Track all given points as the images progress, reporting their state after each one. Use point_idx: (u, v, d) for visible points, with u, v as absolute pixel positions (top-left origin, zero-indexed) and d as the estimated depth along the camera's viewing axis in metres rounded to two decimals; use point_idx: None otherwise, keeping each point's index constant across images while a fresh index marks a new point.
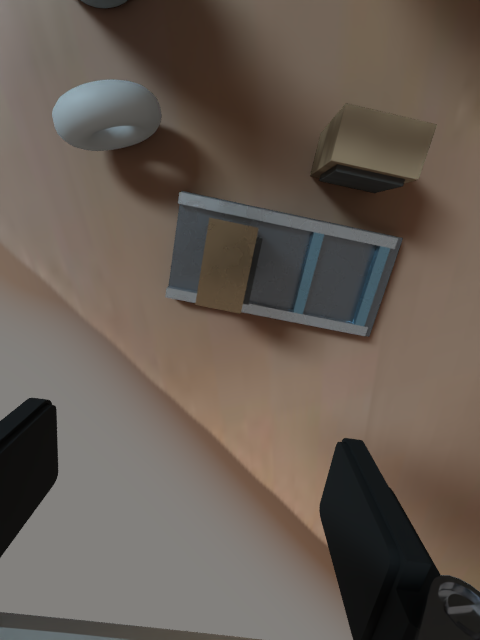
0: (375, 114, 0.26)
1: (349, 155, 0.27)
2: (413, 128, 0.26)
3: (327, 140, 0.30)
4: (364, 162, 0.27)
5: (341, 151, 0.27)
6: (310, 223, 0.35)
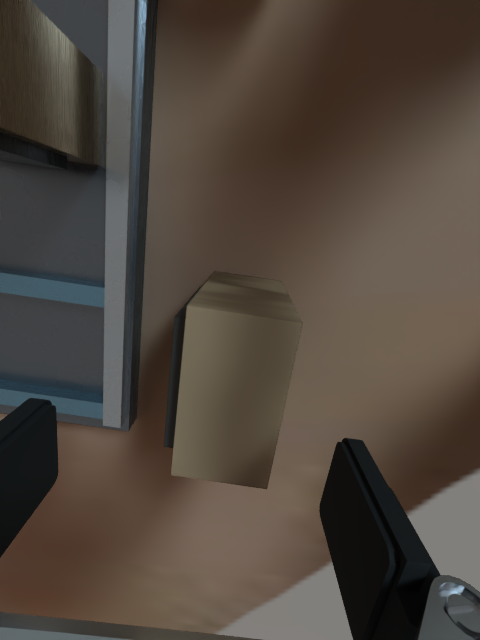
0: (281, 384, 0.13)
1: (200, 343, 0.12)
2: (258, 453, 0.14)
3: (252, 293, 0.15)
4: (190, 376, 0.13)
5: (207, 325, 0.12)
6: (118, 279, 0.18)
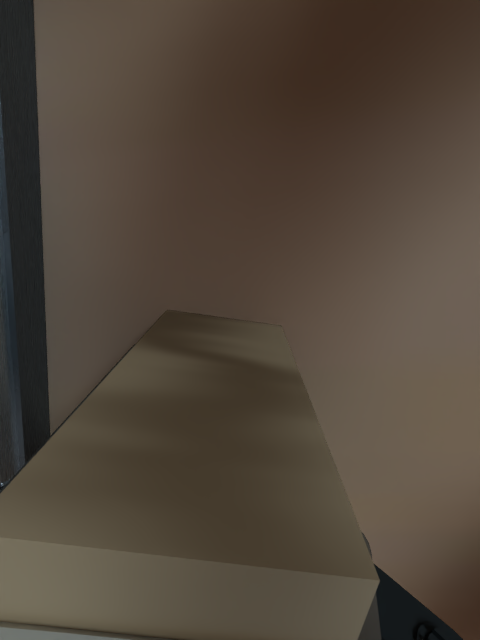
0: None
1: None
2: None
3: (225, 382, 0.07)
4: None
5: (49, 587, 0.03)
6: None
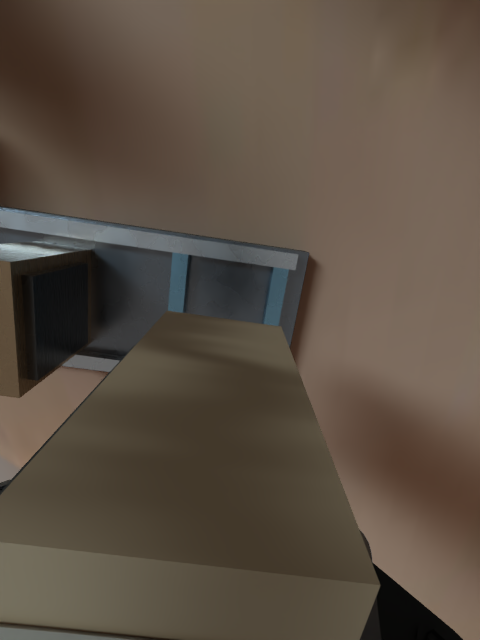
0: None
1: None
2: None
3: (224, 383, 0.07)
4: None
5: (47, 592, 0.03)
6: (164, 240, 0.23)
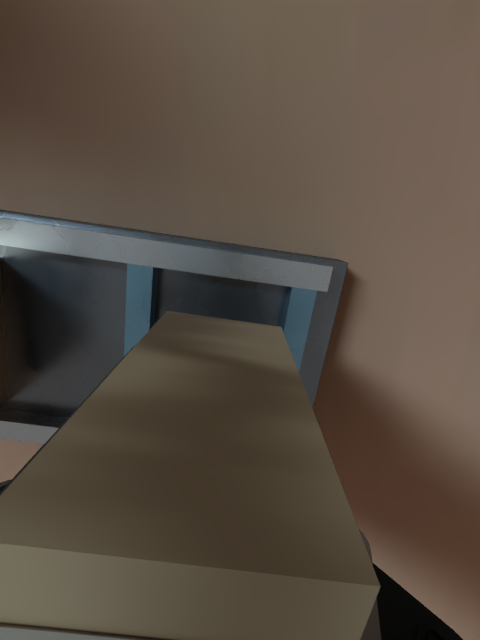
0: None
1: None
2: None
3: (224, 384, 0.07)
4: None
5: (47, 593, 0.03)
6: (113, 243, 0.14)
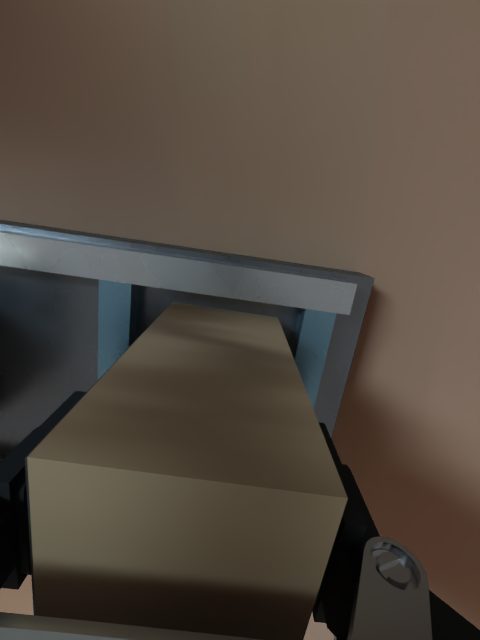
0: (288, 622, 0.05)
1: (77, 543, 0.05)
2: None
3: (226, 361, 0.08)
4: (60, 608, 0.05)
5: (90, 503, 0.04)
6: (81, 254, 0.11)
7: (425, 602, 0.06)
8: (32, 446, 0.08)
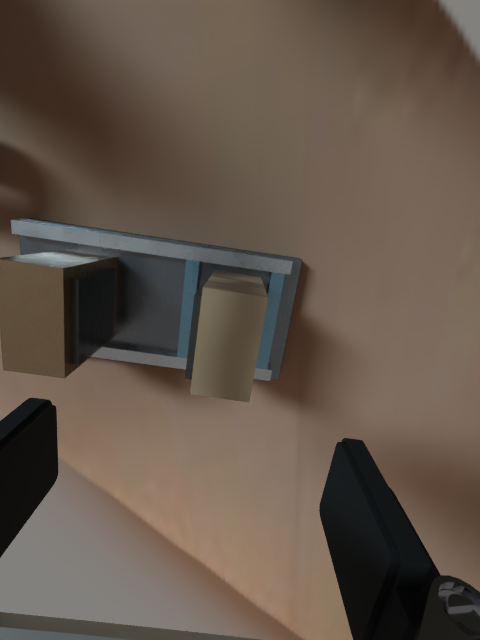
0: (257, 334, 0.21)
1: (210, 309, 0.21)
2: (244, 378, 0.22)
3: (240, 283, 0.24)
4: (203, 329, 0.21)
5: (214, 299, 0.21)
6: (180, 249, 0.28)
7: None
8: None
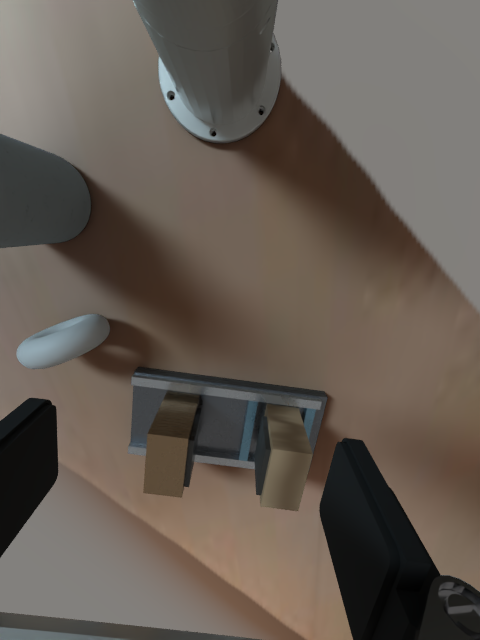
0: (305, 473, 0.35)
1: (276, 460, 0.34)
2: (295, 498, 0.36)
3: (290, 429, 0.37)
4: (271, 471, 0.34)
5: (279, 455, 0.34)
6: (245, 394, 0.41)
7: None
8: None
